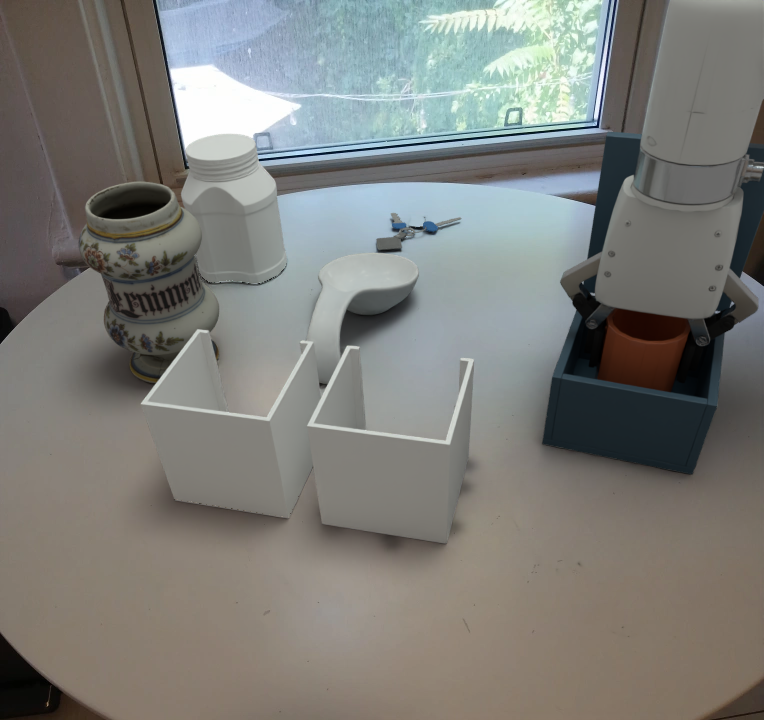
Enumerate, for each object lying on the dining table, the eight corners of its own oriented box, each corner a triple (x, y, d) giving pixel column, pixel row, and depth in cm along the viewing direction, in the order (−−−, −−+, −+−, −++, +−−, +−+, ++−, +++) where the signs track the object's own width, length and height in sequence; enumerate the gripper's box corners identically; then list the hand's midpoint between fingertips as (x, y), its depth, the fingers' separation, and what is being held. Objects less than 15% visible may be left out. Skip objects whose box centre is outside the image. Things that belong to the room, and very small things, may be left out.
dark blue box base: (692, 475, 65) (717, 405, 60) (541, 444, 69) (552, 376, 64) (704, 381, 75) (726, 314, 69) (570, 359, 79) (582, 293, 73)
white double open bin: (174, 500, 66) (140, 403, 58) (222, 424, 73) (197, 329, 65) (446, 543, 61) (449, 444, 53) (468, 457, 68) (474, 359, 60)
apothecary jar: (176, 404, 76) (125, 238, 63) (97, 370, 81) (35, 210, 68) (251, 346, 83) (218, 186, 70) (174, 319, 88) (130, 164, 75)
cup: (624, 363, 74) (640, 291, 68) (684, 395, 70) (707, 321, 64) (577, 392, 71) (590, 320, 65) (637, 427, 67) (657, 353, 61)
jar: (190, 283, 94) (159, 161, 83) (212, 247, 100) (186, 131, 89) (277, 285, 92) (257, 162, 81) (294, 249, 99) (277, 131, 88)
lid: (785, 150, 56) (788, 117, 59) (606, 135, 60) (617, 104, 63) (727, 312, 69) (732, 278, 72) (582, 291, 72) (592, 260, 75)
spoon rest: (339, 272, 94) (333, 218, 89) (428, 281, 91) (428, 225, 86) (273, 381, 78) (262, 322, 73) (379, 394, 76) (375, 334, 70)
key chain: (387, 257, 96) (387, 251, 95) (348, 237, 100) (347, 231, 100) (462, 222, 102) (462, 216, 101) (421, 204, 106) (421, 199, 106)
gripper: (810, 164, 55) (738, 360, 68) (579, 143, 60) (552, 330, 73) (812, 206, 51) (734, 408, 63) (561, 179, 55) (536, 373, 68)
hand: (637, 365), depth 68 cm, fingers closed on cup, 7 cm apart
